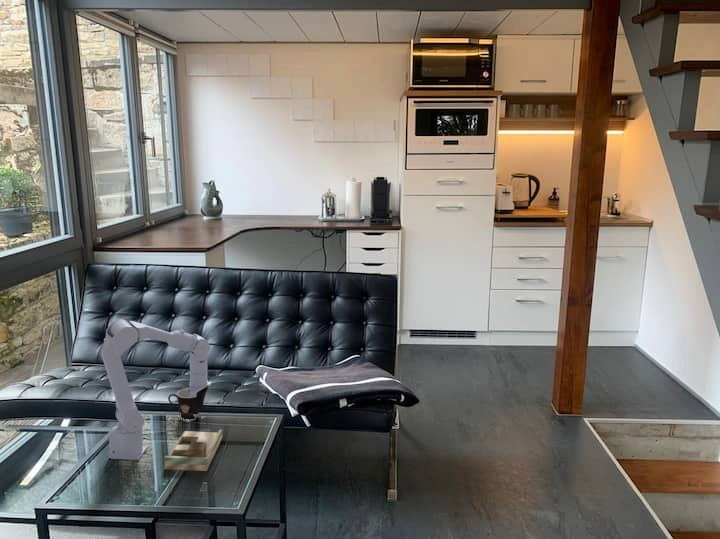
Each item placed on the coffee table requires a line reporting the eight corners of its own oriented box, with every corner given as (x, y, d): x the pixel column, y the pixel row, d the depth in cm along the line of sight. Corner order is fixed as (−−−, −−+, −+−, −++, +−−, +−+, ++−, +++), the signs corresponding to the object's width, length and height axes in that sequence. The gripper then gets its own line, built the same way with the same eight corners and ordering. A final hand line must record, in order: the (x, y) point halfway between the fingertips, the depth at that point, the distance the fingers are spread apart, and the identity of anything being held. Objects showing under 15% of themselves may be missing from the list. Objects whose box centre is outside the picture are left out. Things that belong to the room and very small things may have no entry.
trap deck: (164, 469, 167) (164, 457, 166) (184, 436, 187) (184, 425, 186) (206, 470, 167) (206, 459, 167) (222, 438, 187) (222, 427, 186)
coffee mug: (206, 417, 201) (206, 392, 199) (188, 426, 194) (187, 400, 192) (185, 408, 207) (185, 383, 205) (166, 416, 200) (166, 391, 198)
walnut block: (187, 462, 168) (187, 449, 167) (191, 454, 172) (191, 441, 171) (202, 462, 168) (202, 449, 167) (206, 455, 172) (206, 442, 172)
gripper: (204, 379, 177) (204, 418, 180) (215, 363, 191) (215, 399, 194) (183, 378, 177) (183, 417, 180) (195, 362, 191) (196, 398, 194)
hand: (198, 407), depth 187 cm, fingers closed
